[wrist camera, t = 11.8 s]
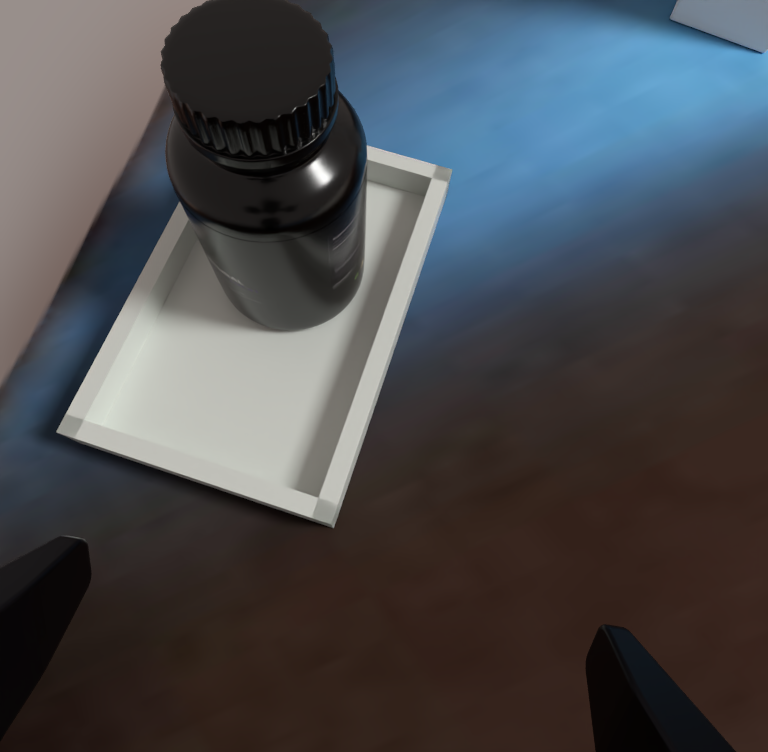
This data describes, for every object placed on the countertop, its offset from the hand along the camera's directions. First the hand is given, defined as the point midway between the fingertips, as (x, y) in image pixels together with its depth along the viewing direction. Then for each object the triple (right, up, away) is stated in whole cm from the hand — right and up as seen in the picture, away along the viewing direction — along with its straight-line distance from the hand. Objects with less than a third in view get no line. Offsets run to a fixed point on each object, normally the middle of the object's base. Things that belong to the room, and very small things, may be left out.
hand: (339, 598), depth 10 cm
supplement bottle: (-3, +9, +17) cm, 20 cm away
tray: (-4, +7, +17) cm, 19 cm away
